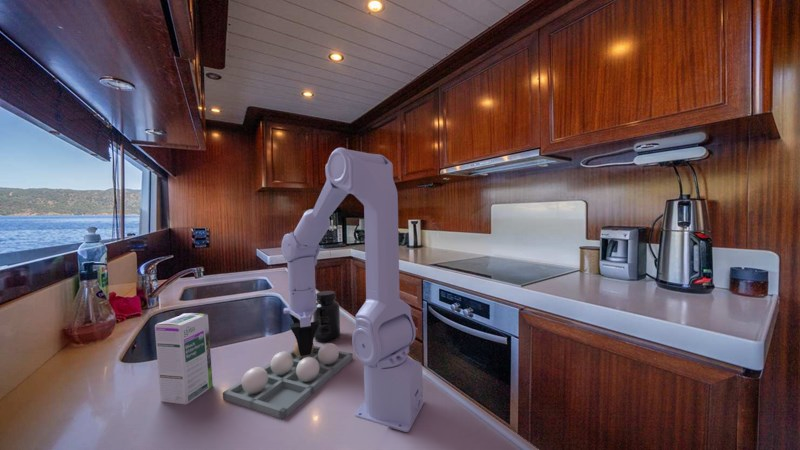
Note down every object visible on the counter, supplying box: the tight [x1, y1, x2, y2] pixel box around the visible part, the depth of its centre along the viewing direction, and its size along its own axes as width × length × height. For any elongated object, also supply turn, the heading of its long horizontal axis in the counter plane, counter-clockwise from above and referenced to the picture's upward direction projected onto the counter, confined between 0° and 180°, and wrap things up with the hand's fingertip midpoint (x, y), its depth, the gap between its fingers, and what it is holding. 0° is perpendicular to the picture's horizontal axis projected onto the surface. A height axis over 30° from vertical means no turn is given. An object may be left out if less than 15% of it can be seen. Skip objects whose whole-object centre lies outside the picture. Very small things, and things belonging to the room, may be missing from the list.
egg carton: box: [222, 342, 354, 420], centre depth 59 cm, size 14×21×5 cm
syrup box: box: [154, 312, 214, 405], centre depth 54 cm, size 6×6×14 cm
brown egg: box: [292, 341, 315, 359], centre depth 67 cm, size 4×4×4 cm
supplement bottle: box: [312, 290, 341, 343], centre depth 78 cm, size 7×7×12 cm
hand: (304, 347), depth 67 cm, fingers open, 7 cm apart
